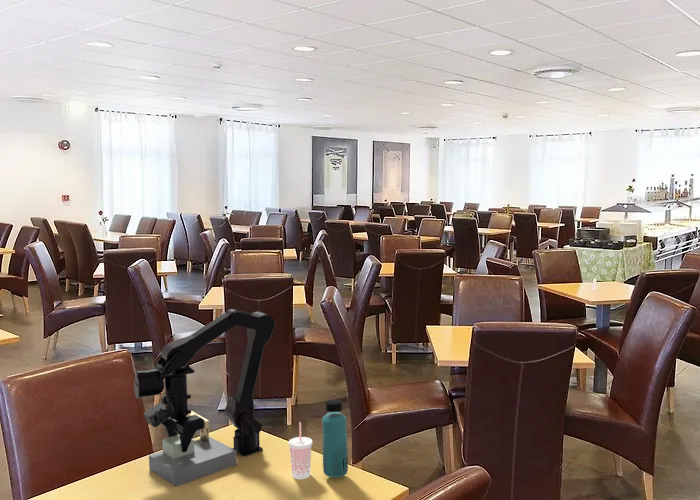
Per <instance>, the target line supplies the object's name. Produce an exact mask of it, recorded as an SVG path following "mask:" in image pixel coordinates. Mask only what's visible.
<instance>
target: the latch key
mask: <svg viewBox="0 0 700 500" xmlns="http://www.w3.org/2000/svg"><path fill="white" fill-rule="evenodd" d="M192 415H197V416H199V417H201V418H202V419H203V420H205V428H203V429H200V430H199V439H200V441H208V440H209V437H210V420H209V419H207V418H205V417H203V416H202V415H200V414H198V413H197V412H195V411H193V410H191V414H187V417H188V416H192Z"/></svg>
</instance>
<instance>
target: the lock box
mask: <svg viewBox="0 0 700 500" xmlns="http://www.w3.org/2000/svg"><path fill="white" fill-rule="evenodd" d="M232 448H233V447H230V446H228V445H226V444H225V443H223V442H220V441H219V440H217V439H215V438H213V437H211V436H209V440H208V441H200V438H199V439H195V440H194V452H193V453H190V454H187V455H184V456H181V457H178V458H175V459H173V458H171V457H170V456H168V455H167V454H165V453H163V450H160V451H157V452H154V453H151V454H148V470H149V471H151V472H152V473H154V474H155V475H157V476H158V477H159V478H160V479H162V480H164V481H166V482H167V483H168V484H170V485H171V486H172V487H178V486H182V485H184V484H187V483H190V482H193V481H195V480H198V479H201V478H205V477H207V476H209V475H213V474H216V473H218V472H221V471H223V470H227V469H229V468H232V467H235V466H237V453H236V450H234V449H232Z"/></svg>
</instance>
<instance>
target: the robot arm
mask: <svg viewBox="0 0 700 500" xmlns="http://www.w3.org/2000/svg"><path fill="white" fill-rule="evenodd" d="M235 326H240V327H244V328H246V335H247V336H246V337H247V346H246V350H245V353H244V354H245V355H244V358H243V362H242V368H241V372H240V376H239V380H238V385H237V388H236V389H237V390H236V392H235V394H234V395H233V396H227V401H226V405H225V408H224V412H225V416H226V418H227V420H228V421H229V422H230V423H231V424H232V425H233V427H235V428H236V429H234V436H232V437H233V447H231V448H232V449H234V450H236V454H239V455H240V456H242V457H247V456H251V455H253V454H256V453H259V452H261V451H263V450H264V448H263V447H262V446H261V445H260V443H261V442H260V433H261V430H262V429H263V428H262V427H263V424H262V423H260V422H259V421H258V420H257V419H256V418H255V403H254V393H255V388H256V384H257V380H258V375H259V370H260V367H261V362H262V358H263V353H264V349H265V346H266V345H267V343H268V342H269V341H270V339H271V337H272V335H273V332H274V331H275V328H276V321H275V320H274V318H273V317H272V316H271V315H269V314H266V313H264V312H261V311H254V312H252V313H251V312H246V311H242V310H241V311H240V310H236V309H234V308H230V309H228V310H226V311H225V312H224V313H223V314H221V315H219V316H218V317H216V318H215V319H213V320H212V321H210V322H209V323H207V324H205V325H204V326H203V327H201V328H199V329H198V330H196V331H195V332H193V333H191V334H190V335H188V336H185V337H181V338H177V339H176V340H173V341H171V342H169V343H166V345H164V346H163V347H162V350H161V355H160V357H159V358H158V360H157V362H155V365H154V366H153V369H146V370H136V371H135V376H134V381H133V391H134V395H135V398H136V399H141V398H146V397H147V398H148V397H154V396H159V395H160V394H161V393H163V391H164V394H163V395H161V398H160V402H159V403H157V404H156V403H155V404H154V405H153V406H151V407H149V408H148V409H147V410H145V411H144V412H143V415H144V418H145V421H146V423H147V424H148V425H150V426H151V427H153V428H157V427H159V426H161V425H162V426H163V428H164V430H165V433H166V437H167V438H169V437H172V436H176V435H179V437H180V443H181V449H182V452H186V451H187V449H188V447H189V445H190V442H191V440H192V439H194V436H195V434H196V432H197V431H200V429H203V428H205V420H203V419H202V418H201V417H199V416H197V415H192V416H188V417H187V414H191V411H192V409H190V408H189V403H188V402H189V399H192V397H191V396H192V395H191V393H188V377H187V376H188V375H190V374H194V373H195V372H196V371H195V369H193V368H192V367H191V366H190V364H188V363H189V362H190V361H191V360H193V358H194V357H195V356H196V354H197V353H198V352H199V351H200V350H201V349H203V348H204V347H205V346H207V345H209V344H210V343H211V342H213V341H214V340H216V339H217V338H219V337H220V336H222V335H223V334H225V333H227V332H228V331H229V330H231V329H232V328H234V327H235Z"/></svg>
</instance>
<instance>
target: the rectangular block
mask: <svg viewBox="0 0 700 500" xmlns="http://www.w3.org/2000/svg"><path fill="white" fill-rule="evenodd" d="M194 441H195V439H194V438H192V440H191V442H190V445H189V447H188V449H187V451H186V452H182V449H181V443H180V437H179V434H177V435H176V436H172V437H169V438H168V437H166V438H163V439H162V442H161V443H162V451H163V453H165V454H167V455H168V456H170V457H171V458H173V459H175V458H178V457H181V456H184V455H187V454H190V453H193V452H194Z"/></svg>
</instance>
